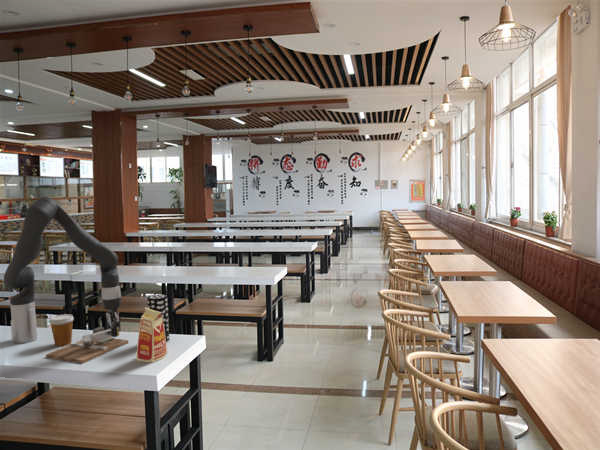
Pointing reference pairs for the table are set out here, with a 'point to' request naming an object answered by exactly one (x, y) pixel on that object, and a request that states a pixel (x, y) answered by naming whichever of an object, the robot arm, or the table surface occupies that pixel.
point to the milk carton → (151, 337)
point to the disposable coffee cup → (62, 329)
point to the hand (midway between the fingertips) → (114, 336)
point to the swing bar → (97, 337)
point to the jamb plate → (86, 349)
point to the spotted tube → (160, 309)
